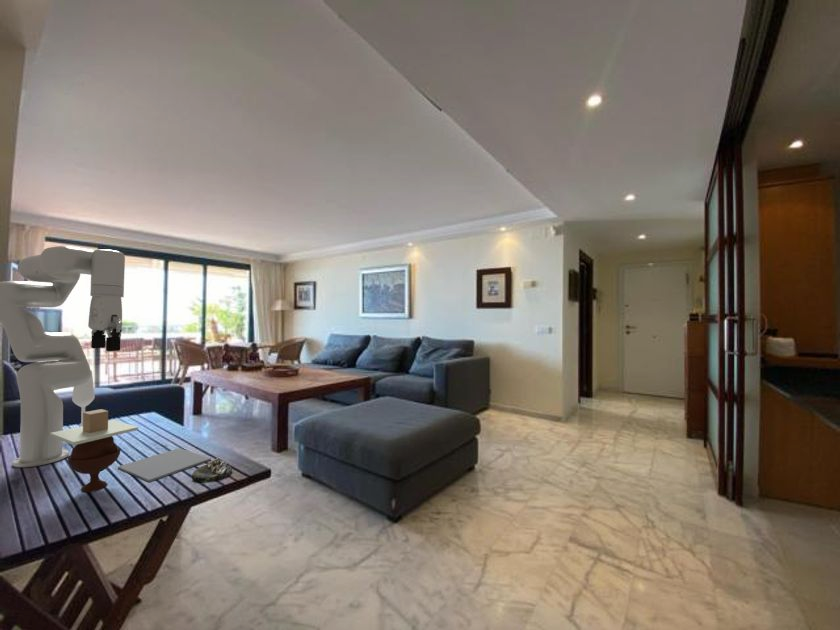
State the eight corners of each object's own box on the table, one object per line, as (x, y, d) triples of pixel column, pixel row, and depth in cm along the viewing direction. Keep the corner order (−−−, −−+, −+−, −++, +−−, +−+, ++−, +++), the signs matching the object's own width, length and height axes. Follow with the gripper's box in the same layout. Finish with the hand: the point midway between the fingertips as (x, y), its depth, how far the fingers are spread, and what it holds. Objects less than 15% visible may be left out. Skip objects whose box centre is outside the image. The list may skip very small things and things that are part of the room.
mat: (117, 468, 112) (117, 466, 112) (179, 449, 128) (179, 448, 128) (148, 482, 104) (149, 479, 104) (210, 460, 120) (210, 458, 120)
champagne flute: (66, 433, 143) (67, 372, 143) (82, 428, 149) (83, 369, 149) (83, 433, 143) (84, 372, 143) (98, 428, 149) (99, 369, 149)
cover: (50, 435, 97) (50, 414, 97) (113, 422, 110) (114, 403, 109) (73, 445, 91) (73, 422, 91) (138, 429, 103) (138, 409, 103)
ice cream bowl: (114, 475, 108) (114, 424, 108) (123, 486, 101) (124, 432, 101) (64, 487, 99) (65, 433, 99) (71, 501, 92) (72, 442, 92)
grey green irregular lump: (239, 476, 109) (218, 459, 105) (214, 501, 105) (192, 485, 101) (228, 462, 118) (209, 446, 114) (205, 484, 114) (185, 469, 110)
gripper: (79, 290, 109) (77, 347, 109) (104, 291, 101) (102, 353, 101) (109, 292, 116) (108, 346, 116) (136, 293, 107) (134, 351, 107)
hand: (105, 349), depth 108 cm, fingers open, 9 cm apart
